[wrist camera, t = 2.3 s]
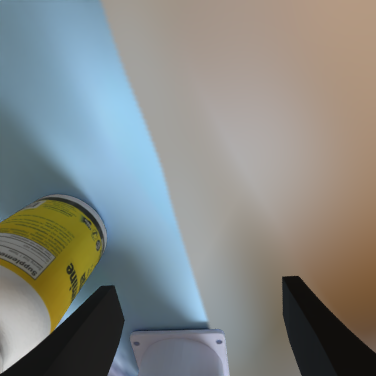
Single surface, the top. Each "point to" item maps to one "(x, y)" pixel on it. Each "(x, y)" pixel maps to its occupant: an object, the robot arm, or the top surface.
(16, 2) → the top surface
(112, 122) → the top surface
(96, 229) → the pill bottle
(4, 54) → the top surface
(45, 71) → the top surface
